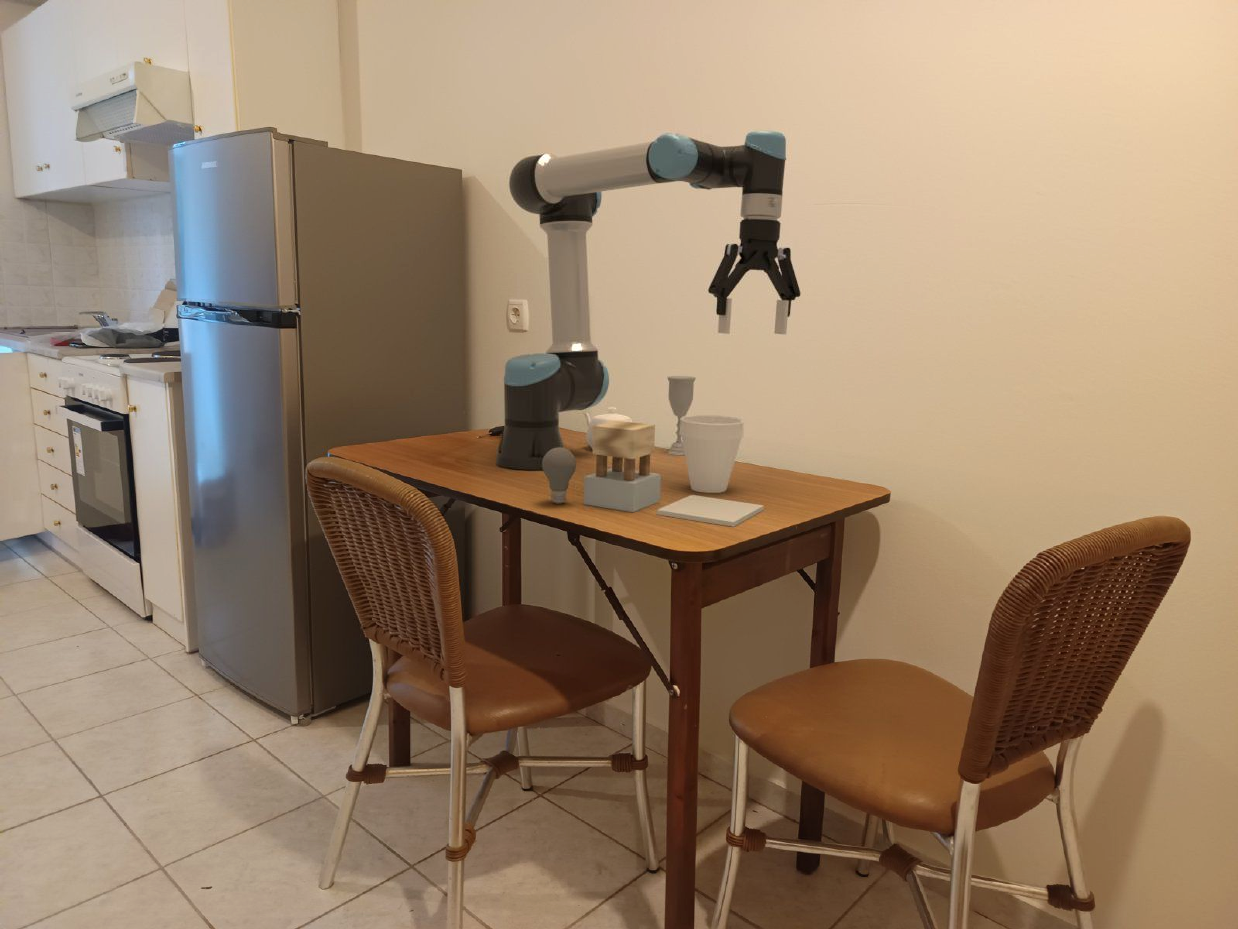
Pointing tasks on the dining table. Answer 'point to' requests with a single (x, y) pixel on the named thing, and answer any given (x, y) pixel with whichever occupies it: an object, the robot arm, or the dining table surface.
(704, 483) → the cup
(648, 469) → the stool
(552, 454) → the light bulb
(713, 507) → the mat
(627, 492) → the gray square block
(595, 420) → the teapot
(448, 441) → the dining table surface
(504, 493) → the dining table surface
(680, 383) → the chalice
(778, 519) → the dining table surface
